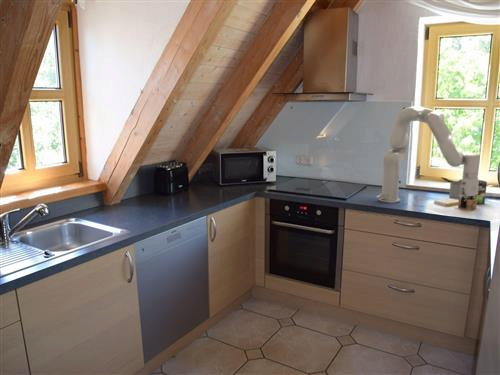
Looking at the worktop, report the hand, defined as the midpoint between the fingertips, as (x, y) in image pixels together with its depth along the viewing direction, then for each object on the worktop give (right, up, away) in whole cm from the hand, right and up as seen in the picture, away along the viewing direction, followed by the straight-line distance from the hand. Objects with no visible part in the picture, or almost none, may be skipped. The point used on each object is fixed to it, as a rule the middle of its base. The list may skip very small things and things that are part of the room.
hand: (467, 206), depth 243 cm
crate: (0, -1, 0) cm, 1 cm away
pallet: (0, -2, 0) cm, 2 cm away
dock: (-6, 0, +11) cm, 13 cm away
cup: (+7, +3, +27) cm, 28 cm away
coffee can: (+12, 0, +14) cm, 19 cm away
